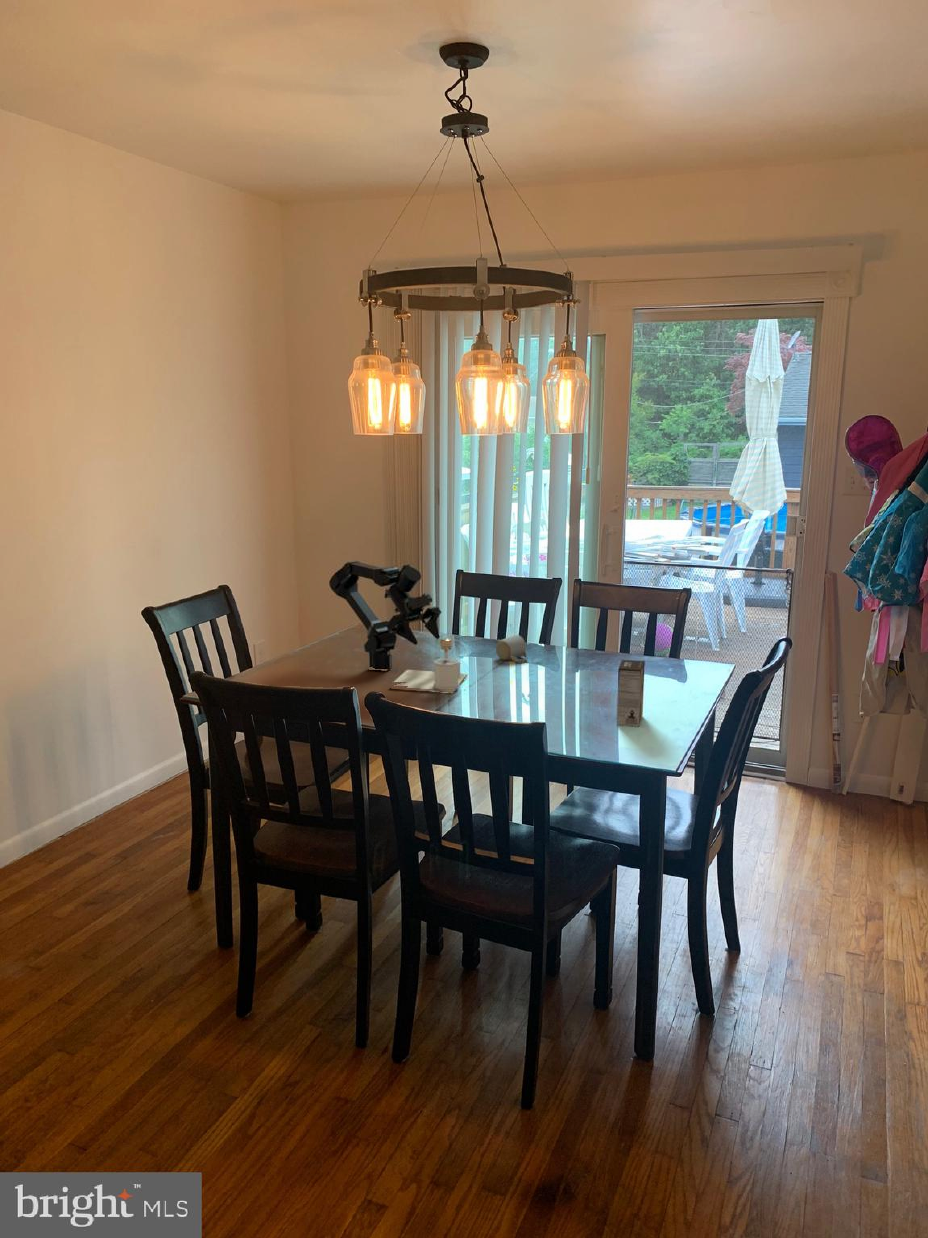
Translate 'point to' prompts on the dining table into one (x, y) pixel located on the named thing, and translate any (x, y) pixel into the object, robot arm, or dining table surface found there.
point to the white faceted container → (446, 674)
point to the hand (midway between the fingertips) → (427, 641)
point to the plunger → (445, 647)
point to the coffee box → (630, 693)
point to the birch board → (422, 680)
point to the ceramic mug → (512, 649)
